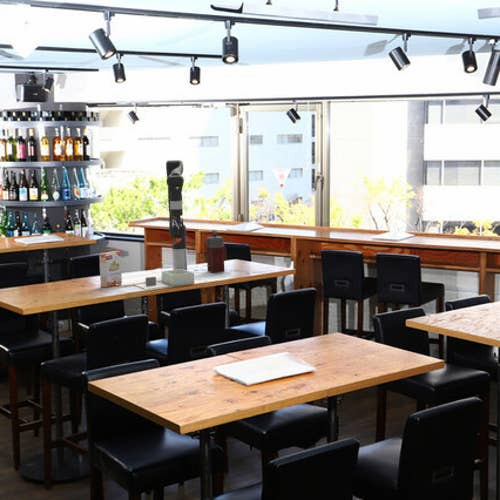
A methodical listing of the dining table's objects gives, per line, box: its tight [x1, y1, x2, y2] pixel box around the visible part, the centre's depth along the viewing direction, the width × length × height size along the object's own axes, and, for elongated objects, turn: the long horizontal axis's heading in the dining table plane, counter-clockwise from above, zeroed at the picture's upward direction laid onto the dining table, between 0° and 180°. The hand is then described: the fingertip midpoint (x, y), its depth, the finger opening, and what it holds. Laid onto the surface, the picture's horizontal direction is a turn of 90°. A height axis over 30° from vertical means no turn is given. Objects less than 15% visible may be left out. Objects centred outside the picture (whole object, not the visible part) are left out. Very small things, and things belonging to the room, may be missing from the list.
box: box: [161, 269, 195, 287], centre depth 529 cm, size 18×14×7 cm
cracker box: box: [98, 250, 123, 288], centre depth 527 cm, size 14×6×21 cm, turn 148°
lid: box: [134, 276, 170, 290], centre depth 521 cm, size 19×15×6 cm
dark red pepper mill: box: [206, 229, 228, 274], centre depth 568 cm, size 9×11×28 cm
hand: (177, 234), depth 527 cm, fingers open, 8 cm apart
